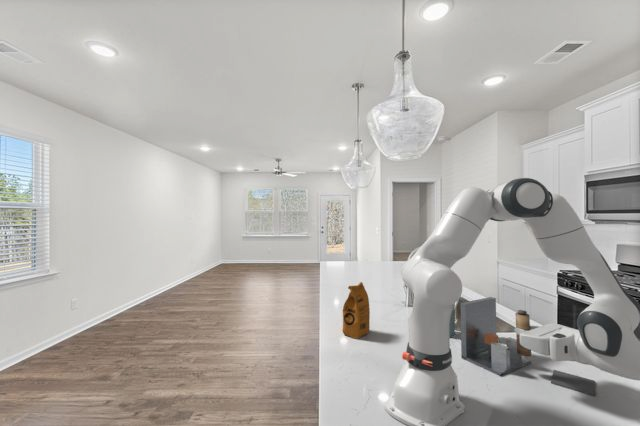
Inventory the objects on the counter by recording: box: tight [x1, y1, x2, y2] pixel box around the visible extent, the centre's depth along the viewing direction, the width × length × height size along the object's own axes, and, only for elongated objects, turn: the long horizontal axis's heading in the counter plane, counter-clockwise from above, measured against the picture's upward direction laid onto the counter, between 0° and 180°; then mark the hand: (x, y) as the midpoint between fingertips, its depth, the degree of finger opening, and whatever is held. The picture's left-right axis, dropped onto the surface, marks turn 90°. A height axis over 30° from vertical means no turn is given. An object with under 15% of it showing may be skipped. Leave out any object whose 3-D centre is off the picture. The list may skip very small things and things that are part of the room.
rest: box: [550, 369, 597, 397], centre depth 89 cm, size 10×10×1 cm
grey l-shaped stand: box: [460, 296, 532, 377], centre depth 104 cm, size 18×14×20 cm
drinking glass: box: [449, 306, 456, 338], centre depth 129 cm, size 10×10×12 cm
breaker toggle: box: [485, 333, 499, 356], centre depth 105 cm, size 3×3×7 cm
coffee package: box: [342, 281, 371, 340], centre depth 130 cm, size 10×12×22 cm
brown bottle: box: [515, 309, 532, 358], centre depth 96 cm, size 4×4×14 cm
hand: (520, 328), depth 97 cm, fingers closed on brown bottle, 4 cm apart
